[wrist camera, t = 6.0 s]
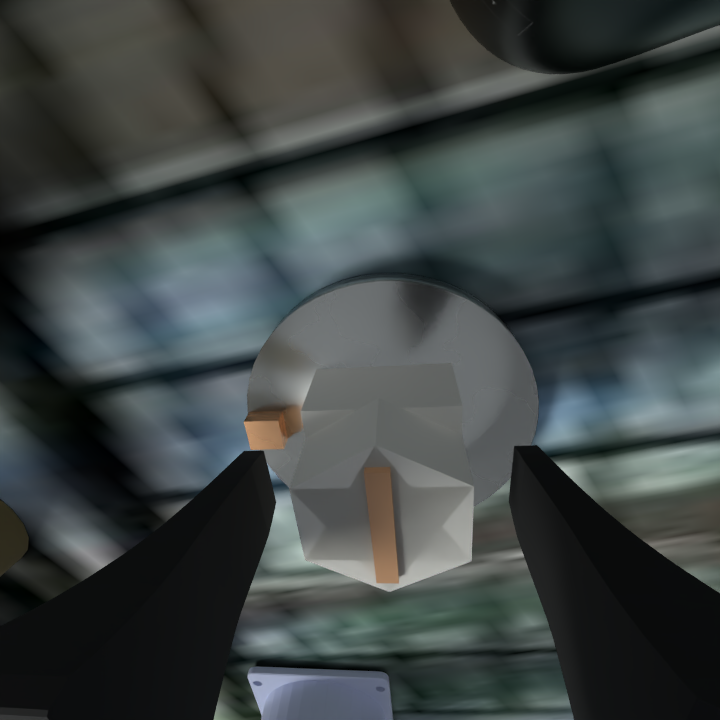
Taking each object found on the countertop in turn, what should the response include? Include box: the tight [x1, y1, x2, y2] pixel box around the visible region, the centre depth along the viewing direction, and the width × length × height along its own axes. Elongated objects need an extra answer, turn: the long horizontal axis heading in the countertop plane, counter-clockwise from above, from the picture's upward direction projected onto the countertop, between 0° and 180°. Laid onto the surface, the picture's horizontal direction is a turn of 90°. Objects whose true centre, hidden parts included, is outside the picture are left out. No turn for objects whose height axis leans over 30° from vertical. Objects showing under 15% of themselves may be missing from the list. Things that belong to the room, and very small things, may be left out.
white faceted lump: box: [289, 363, 474, 592], centre depth 12 cm, size 5×4×5 cm
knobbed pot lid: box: [244, 273, 539, 507], centre depth 14 cm, size 10×10×3 cm
